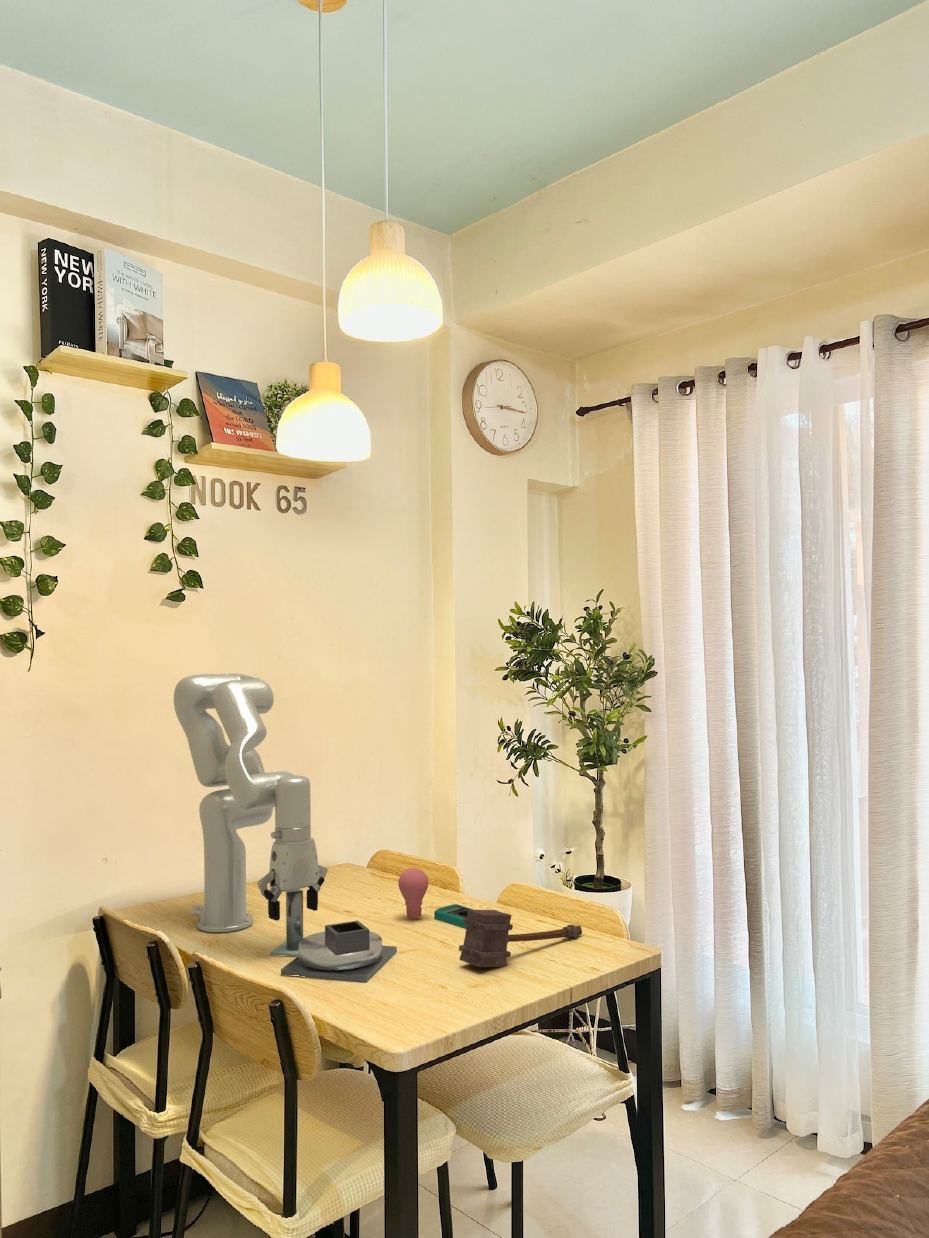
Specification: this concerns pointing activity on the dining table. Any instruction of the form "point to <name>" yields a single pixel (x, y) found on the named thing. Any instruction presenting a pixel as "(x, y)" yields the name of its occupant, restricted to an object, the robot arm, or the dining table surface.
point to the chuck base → (346, 975)
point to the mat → (284, 951)
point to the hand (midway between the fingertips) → (293, 914)
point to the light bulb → (413, 890)
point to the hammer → (498, 937)
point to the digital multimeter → (452, 914)
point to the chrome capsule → (294, 919)
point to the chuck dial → (340, 947)
